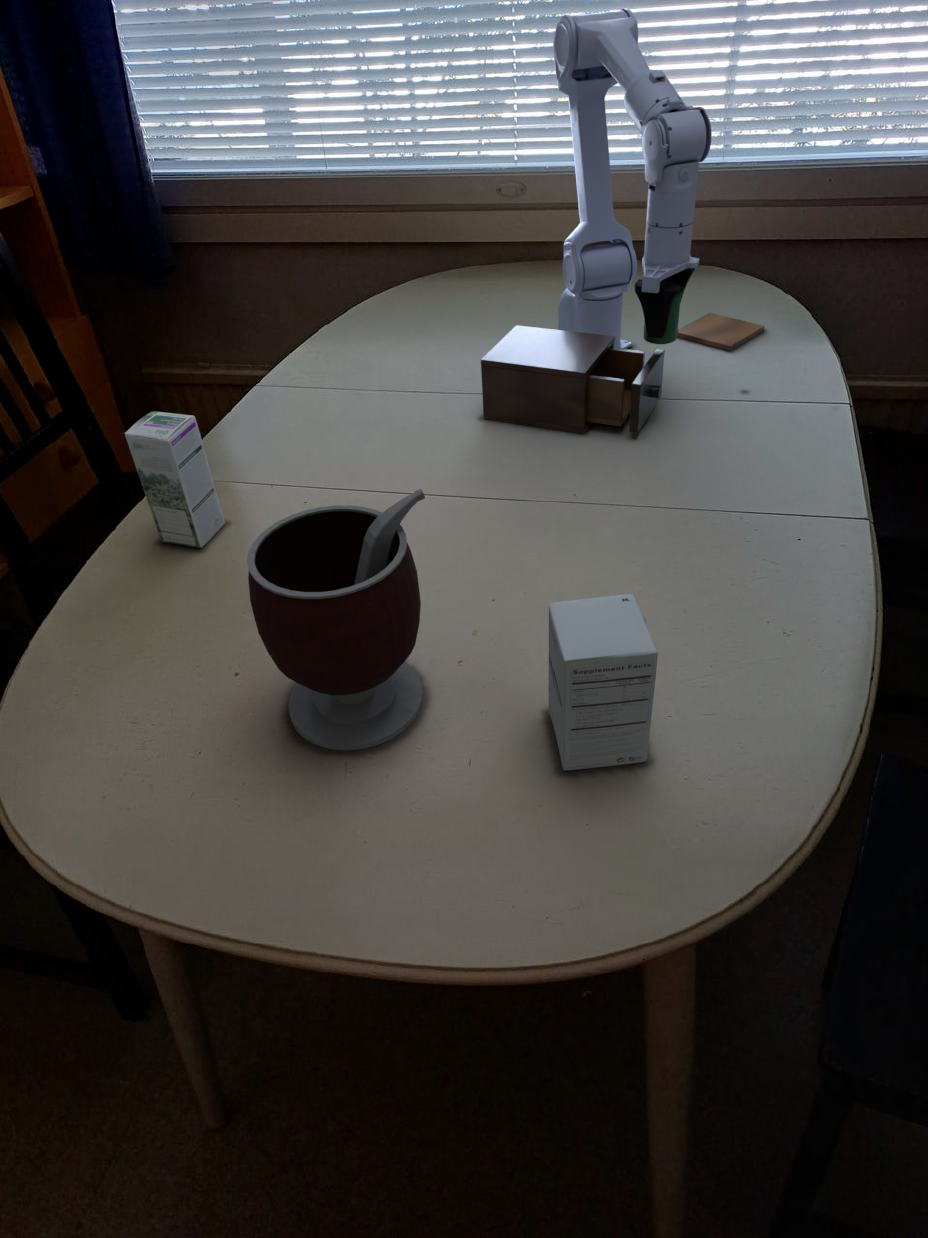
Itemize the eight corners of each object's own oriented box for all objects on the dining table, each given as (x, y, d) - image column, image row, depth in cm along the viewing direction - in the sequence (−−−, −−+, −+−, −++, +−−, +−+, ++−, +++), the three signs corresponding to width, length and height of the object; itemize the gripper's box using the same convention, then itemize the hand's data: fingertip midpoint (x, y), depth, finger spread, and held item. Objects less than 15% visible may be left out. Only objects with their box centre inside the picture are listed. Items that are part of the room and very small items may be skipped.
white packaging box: (546, 711, 80) (546, 599, 72) (628, 702, 80) (637, 590, 72) (560, 774, 74) (561, 660, 66) (649, 764, 75) (661, 650, 67)
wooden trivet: (674, 336, 143) (675, 331, 143) (709, 317, 148) (709, 312, 148) (730, 351, 137) (730, 346, 137) (764, 330, 143) (764, 325, 142)
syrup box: (227, 523, 108) (197, 412, 99) (200, 550, 104) (166, 437, 94) (186, 517, 110) (153, 407, 100) (159, 544, 105) (121, 432, 96)
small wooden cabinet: (612, 394, 128) (615, 335, 123) (583, 434, 120) (585, 373, 114) (517, 381, 134) (516, 324, 128) (483, 418, 125) (480, 359, 120)
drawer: (669, 397, 124) (673, 350, 120) (646, 435, 117) (650, 386, 112) (568, 384, 130) (569, 338, 125) (540, 419, 122) (540, 371, 118)
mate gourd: (304, 778, 76) (254, 590, 63) (264, 678, 86) (215, 498, 73) (471, 718, 80) (457, 531, 67) (415, 630, 90) (393, 452, 77)
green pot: (633, 339, 120) (636, 290, 116) (655, 327, 123) (659, 279, 119) (664, 348, 118) (668, 299, 113) (686, 335, 120) (691, 287, 116)
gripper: (686, 241, 104) (676, 353, 113) (716, 206, 114) (704, 312, 123) (627, 237, 107) (622, 347, 116) (661, 203, 117) (654, 307, 125)
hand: (661, 328), depth 119 cm, fingers closed on green pot, 5 cm apart
